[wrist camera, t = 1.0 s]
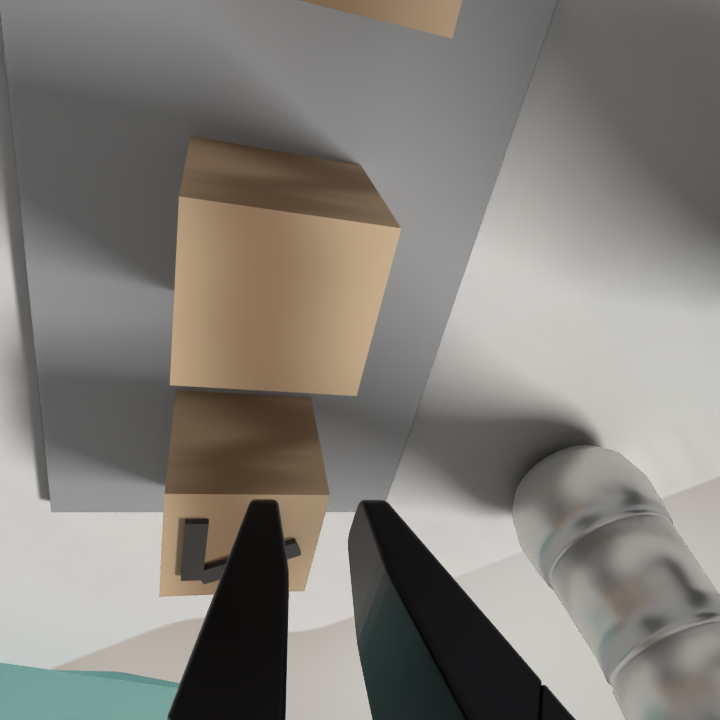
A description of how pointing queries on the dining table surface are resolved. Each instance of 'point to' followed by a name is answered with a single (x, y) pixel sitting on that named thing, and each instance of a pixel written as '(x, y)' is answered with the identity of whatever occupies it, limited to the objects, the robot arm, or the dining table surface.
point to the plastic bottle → (624, 581)
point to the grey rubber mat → (251, 128)
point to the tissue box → (82, 695)
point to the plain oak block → (276, 270)
